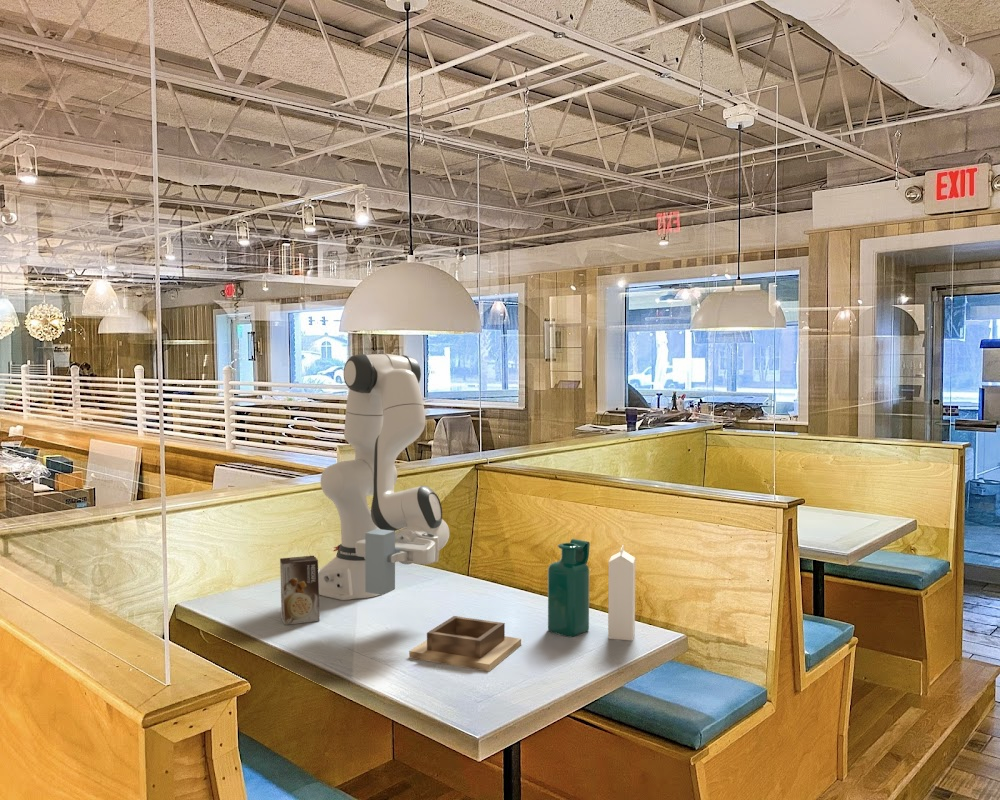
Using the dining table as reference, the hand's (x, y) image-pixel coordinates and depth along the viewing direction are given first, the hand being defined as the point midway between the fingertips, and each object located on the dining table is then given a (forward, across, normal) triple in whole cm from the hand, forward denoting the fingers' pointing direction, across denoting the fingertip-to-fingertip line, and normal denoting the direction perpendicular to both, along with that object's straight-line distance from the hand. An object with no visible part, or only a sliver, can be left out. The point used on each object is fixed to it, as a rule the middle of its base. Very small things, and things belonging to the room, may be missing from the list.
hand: (378, 557), depth 189 cm
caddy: (-6, +20, +21) cm, 30 cm away
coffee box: (-9, -30, +22) cm, 38 cm away
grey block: (-1, 0, +8) cm, 8 cm away
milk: (-31, +50, +21) cm, 63 cm away
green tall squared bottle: (-30, +37, +21) cm, 52 cm away
